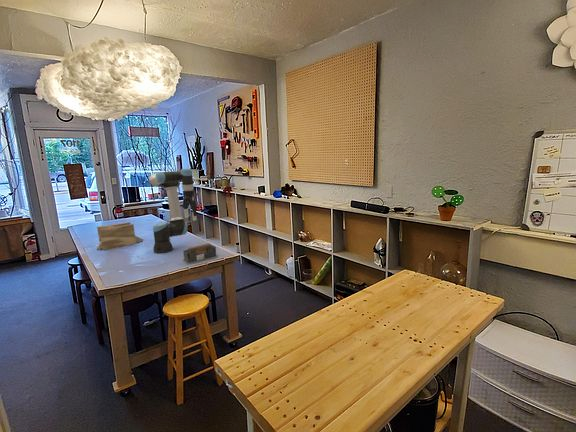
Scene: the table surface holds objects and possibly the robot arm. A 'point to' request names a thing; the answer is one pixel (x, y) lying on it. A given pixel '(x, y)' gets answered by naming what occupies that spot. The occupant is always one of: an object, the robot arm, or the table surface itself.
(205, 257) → the grey rectangular holder
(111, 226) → the wall bracket
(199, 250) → the rail
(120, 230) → the cradle
